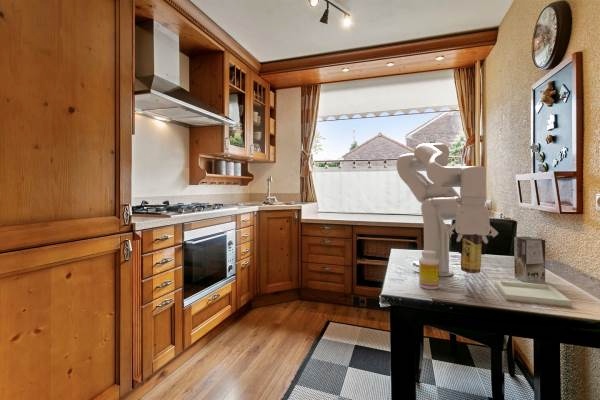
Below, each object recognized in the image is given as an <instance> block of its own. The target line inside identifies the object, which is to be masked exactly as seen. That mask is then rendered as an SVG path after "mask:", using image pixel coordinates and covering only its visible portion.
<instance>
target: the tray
mask: <svg viewBox="0 0 600 400" xmlns="http://www.w3.org/2000/svg"><path fill="white" fill-rule="evenodd" d="M494 286H495V288H496V289H497V290H498V291H499V293H500V295H502V297H503V299H505V301H511V302H519V303H530V304H538V305H539V304H540V305H549V306H559V307H568V308H569V307H570V308H571V307H572V301H571V299H570V298H568V297H567V296H565V294H563V293H561V292H560V291H559V290H557V289H556V288H555V287H554V286H552V285H551V284H546V283H545V284H534V283H525V282H523V281H520V282H519V281H508V280H498V279H497V280H496V279H495V280H494Z"/></svg>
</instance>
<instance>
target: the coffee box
mask: <svg viewBox="0 0 600 400" xmlns="http://www.w3.org/2000/svg"><path fill="white" fill-rule="evenodd" d="M513 239H514V241H513V242H514V243H513V245H514V246H513V247H514V248H513V249H514V250H513V251H514V254H513V255H514V257H513V259H514V260H513V261H514V277H515V278H516V279H518V280H520V281H521V282H523V283H534V284H546V239H542V238H538V237H533V236H514V238H513Z"/></svg>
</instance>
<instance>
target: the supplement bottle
mask: <svg viewBox="0 0 600 400" xmlns="http://www.w3.org/2000/svg"><path fill="white" fill-rule="evenodd" d="M421 255H422V257H420V258H419V260H418V262H419V267H418V284H419V286H420V288H422V289H426V290H437V289H439V288H440V276H439V261H438V259H436V258H435V256H436V252H435V251H430V250H424V249H423V250H422V251H421Z"/></svg>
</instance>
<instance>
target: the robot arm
mask: <svg viewBox="0 0 600 400" xmlns="http://www.w3.org/2000/svg"><path fill="white" fill-rule="evenodd" d="M449 157H450V149H449V147H448V146H447V144H444V143H440V142H437V143H436V142H431V143H429V142H426V143H421V144H419V145H417V146H415V148H414V151H413V153H406V154H402V155H400V156H399V157H398V158H397V160H396V171H397V174H398V176H399V177H400V179H401V180H402V181H403V183H404V184H406V186H408V188H409V189H410V191H411V193H412V194H413V195H414V197H415V199H416V200H417V201H418V202H419V203H421V205H420V206H421V207H420V210H421V215H422V221H423V245H424V246H423V251H424V250H430V251H435V252H436V256H435V258H436V259H438V261H439V277H451V276H453V275H454V270H453V269H451V268H450V236H451V237H452V238H453V239H454V240H455V241H456V251H458V254H461V253H462V236H463V235H474V234H477V235H479V236H482V254H481V256H482V255H483V256H485V255H486V254H485V253H487V246H488V245H487V244H488V243H489V242H490V241H491V240H493V239H494V238H495V237H496V236H498V235H499V232H498V231H497V230H496V229H495V228H494V227H492V225H491V224H490V223H491V222H490V213H489V212H490V211H489V207H488V206H487V205H486V178H487V176H486V175H487V174H486V168H485V166H483V165H471V166H470V165H469V166H468V165H467V166H448V165H449ZM420 172H426V176H427V178H426V176H425V175H424V174H422V173H420ZM429 180H430V181H429ZM455 188H459V192H457V191H456V189H455ZM454 220H455V222H454V223H453V224H452V225H450V227H448V226H447V224H446V223H445V221H454ZM453 231H455V232H456V233H457V234H455V232H453ZM490 232H491V233H490ZM412 266H414V267H415V268H419V261H415V260H414V261H412Z"/></svg>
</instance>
